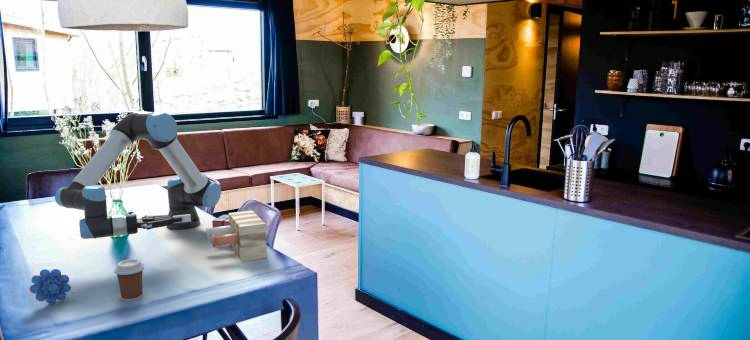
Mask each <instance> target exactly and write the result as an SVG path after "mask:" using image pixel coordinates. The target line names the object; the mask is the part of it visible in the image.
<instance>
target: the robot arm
mask: <svg viewBox="0 0 750 340" xmlns="http://www.w3.org/2000/svg"><path fill="white" fill-rule="evenodd" d="M177 127H178V124H177V121H176V120H175V118H174V117H173V116H172V115H171V114H169V113H166V112H161V111H139V110H138V111H133V112H131V113H128V114H127V115H125V116H124V117H123V118H122V119H120V120H119V121H118V123H116V124H115V125H114V126H113V127H112V129H111V130H110V132H109V137H107V139H106V140H105V141H104V142H103V144H102V145H101V146H100V147H99V149H98V150H97V151H96V152H95V153H94V154H93V156H92V157H91V158H90V159H89V161H87V163H86V164H85V165H84V167H83V168H82V169H81V170H80V172H79V173H78V174H77V175H76V176H75V177H74V179H73V180H72V181H71V183H70V184H69V185H68V186H64V187H61V188H59V189H57V190H56V192H55V193H54V194H55V195H54V200H55V201H54V202H55V203H56V204H57V205H58V206H60V207H63V208H66V209H74V210H80V211H83V212H84V218H83V219H82V218H81V219H80V220H79V224H78V225H79V234H80V238H81V239H82V240H88V239H89V240H90V239H91V240H92V239H95V240H96V239H102V238H107V237H115V236H116V237H117V238H118V237H120V236H125V235H126V234H127V235H134V234H135V235H136V234H138V232H139V231H138V230H139V229H143V230H148V231H149V230H152V229H157V228H162V227H167V228H168V229H173V230H185V229H192V228H194V227H197V226H199V225H200V224H201V218H200V216H199V213H198V211H197V209H196V207H201V208H208V209H209V208H214V207H215V206H216V205H217V204H218V203H219V201H220V200H221V194H222V188H221V186H220V185H219V184H218V183H217V182H212V181H211V180H210V179H209V177H208V176H207V174H204V173H201V171H200V170H199V169H198V167H197V165H196V164H195V163H194V162H193V160H192V159H191V157H190V156H189V154H188V153H187V151H186V150H185V149H184V147H183V146H182V144H181V143H180V141H179V140H178V128H177ZM139 140H142V141H143V140H144V141H147V142H148V143H149V145H150V147H151V148H152V149H153V150H157V151H159V152H160V153H161V155H162V156H163V158H164V159H165V161H167V163H168V165H169V166H170V167H171V168H172V169H173V171H174V172H175V173H176V175H177V177H174V178H170V179H169V180H167V188H166V189H167V197H168V198H167V199H168V214H162V215H161V214H160V215H159V214H158V215H144V216H141V217H139V218H137V214H136V213H131V214H126V215H124V214H118V215H111V216H108V210H107V209H108V207H107V205H108V204H107V195H106V188H105V186H103V185H99V184H98V183H99V182H100V181H101V180H102V179H103V177H104V175H105V174H107V172H108V170H110V168H111V167H112V166H113V164H114V163H115V162H116V161H117V160H118V158H119V157H120V156H121V154H122V153H123V152H124V151H125V149H126V148H127V147H128V148H129V147H131V146H132V145H133V143H135V142H136V141H139Z"/></svg>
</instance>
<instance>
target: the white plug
mask: <svg viewBox="0 0 750 340" xmlns="http://www.w3.org/2000/svg"><path fill="white" fill-rule="evenodd" d="M205 230H206V231H205V232H206V234H205V235H206V238H207V240H210V239H211V236H220V235H228V234H233V226H232V225H229V226H221V227H214V228H213V227H206V228H205Z"/></svg>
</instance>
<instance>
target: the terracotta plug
mask: <svg viewBox="0 0 750 340" xmlns="http://www.w3.org/2000/svg"><path fill="white" fill-rule="evenodd" d="M210 239H211V240H210V241H211V246H212V248H216V247H221V246H222V247H223V246H229V245H230V244H237V243H239V233H235V234H228V235H220V236H211V238H210ZM230 246H231V245H230Z"/></svg>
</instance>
